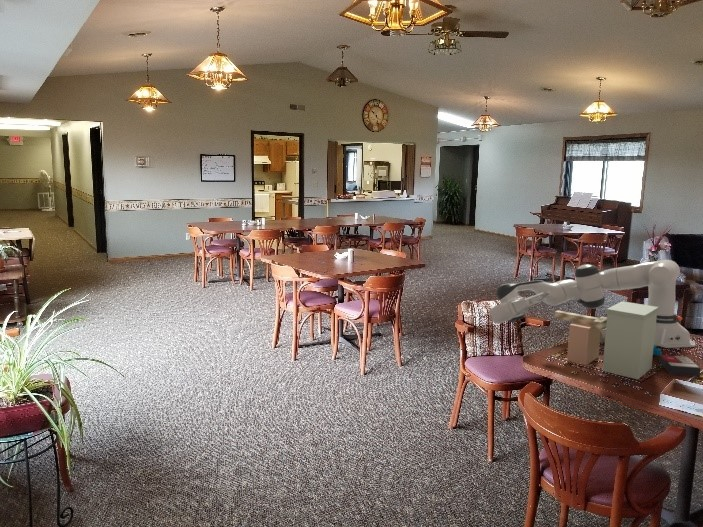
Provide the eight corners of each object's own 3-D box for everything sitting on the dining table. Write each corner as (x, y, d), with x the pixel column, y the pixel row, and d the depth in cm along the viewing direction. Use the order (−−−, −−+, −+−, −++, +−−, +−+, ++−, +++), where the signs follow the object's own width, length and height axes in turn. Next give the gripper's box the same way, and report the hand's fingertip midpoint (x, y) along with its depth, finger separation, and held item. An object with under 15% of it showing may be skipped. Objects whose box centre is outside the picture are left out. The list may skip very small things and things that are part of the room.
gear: (667, 355, 234) (654, 340, 231) (660, 366, 233) (647, 351, 230) (646, 350, 244) (633, 336, 242) (639, 361, 243) (626, 347, 241)
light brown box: (567, 360, 232) (569, 324, 229) (580, 352, 242) (582, 318, 239) (585, 365, 227) (588, 328, 224) (598, 357, 237) (601, 321, 234)
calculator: (687, 355, 228) (701, 366, 214) (686, 365, 229) (700, 376, 214) (658, 353, 231) (670, 364, 217) (658, 363, 232) (669, 374, 217)
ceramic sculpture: (598, 321, 260) (633, 327, 254) (596, 338, 262) (630, 345, 255) (597, 327, 251) (633, 333, 244) (595, 345, 253) (630, 352, 246)
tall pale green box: (601, 370, 220) (606, 308, 216) (616, 359, 233) (622, 301, 229) (638, 379, 211) (644, 315, 206) (652, 368, 223) (658, 307, 219)
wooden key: (550, 319, 237) (551, 313, 236) (560, 315, 244) (561, 308, 244) (600, 329, 223) (600, 322, 222) (609, 324, 230) (609, 317, 229)
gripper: (532, 307, 259) (557, 297, 250) (512, 316, 244) (538, 305, 235) (526, 295, 260) (551, 285, 251) (506, 303, 246) (532, 292, 236)
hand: (545, 295), depth 243 cm, fingers open, 8 cm apart
